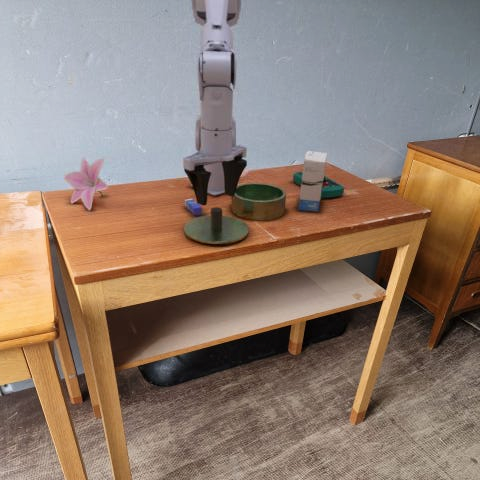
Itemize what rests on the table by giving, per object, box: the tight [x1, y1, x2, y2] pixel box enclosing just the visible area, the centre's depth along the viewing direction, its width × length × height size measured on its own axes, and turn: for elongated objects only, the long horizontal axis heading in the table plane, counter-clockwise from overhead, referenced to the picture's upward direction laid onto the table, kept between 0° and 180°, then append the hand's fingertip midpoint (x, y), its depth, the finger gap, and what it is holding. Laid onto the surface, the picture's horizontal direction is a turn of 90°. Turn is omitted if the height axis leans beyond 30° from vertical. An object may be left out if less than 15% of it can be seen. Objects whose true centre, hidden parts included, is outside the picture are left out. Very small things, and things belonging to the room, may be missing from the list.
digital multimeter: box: [292, 170, 345, 200], centre depth 117 cm, size 7×15×3 cm, turn 23°
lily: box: [63, 156, 109, 211], centre depth 103 cm, size 12×12×10 cm
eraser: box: [184, 198, 203, 217], centre depth 101 cm, size 2×6×2 cm, turn 25°
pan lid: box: [183, 207, 250, 245], centre depth 91 cm, size 14×14×5 cm
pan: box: [231, 182, 287, 221], centre depth 103 cm, size 12×12×4 cm
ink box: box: [297, 150, 328, 213], centre depth 104 cm, size 8×5×12 cm, turn 168°
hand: (216, 199), depth 89 cm, fingers open, 7 cm apart
